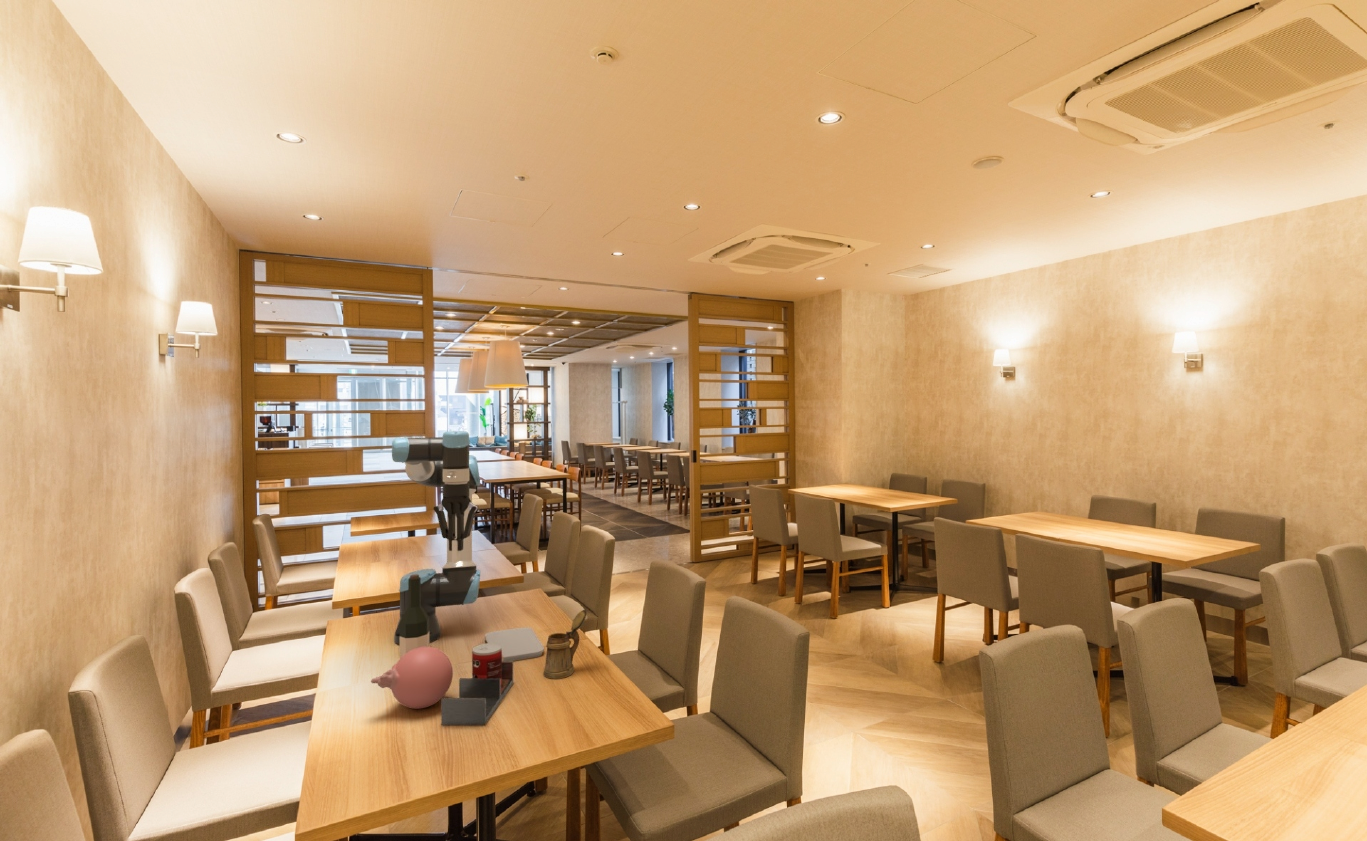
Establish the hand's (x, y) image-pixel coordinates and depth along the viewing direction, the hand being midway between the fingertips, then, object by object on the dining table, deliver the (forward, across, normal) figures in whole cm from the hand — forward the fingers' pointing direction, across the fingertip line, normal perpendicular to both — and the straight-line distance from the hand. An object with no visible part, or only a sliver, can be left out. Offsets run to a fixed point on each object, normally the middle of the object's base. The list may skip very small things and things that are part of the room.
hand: (456, 561), depth 183 cm
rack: (+34, +13, -17) cm, 41 cm away
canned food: (+33, +13, -11) cm, 37 cm away
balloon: (+35, -4, -20) cm, 40 cm away
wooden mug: (+35, +32, +4) cm, 47 cm away
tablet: (+35, +10, +24) cm, 44 cm away
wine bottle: (+35, -13, +1) cm, 37 cm away
